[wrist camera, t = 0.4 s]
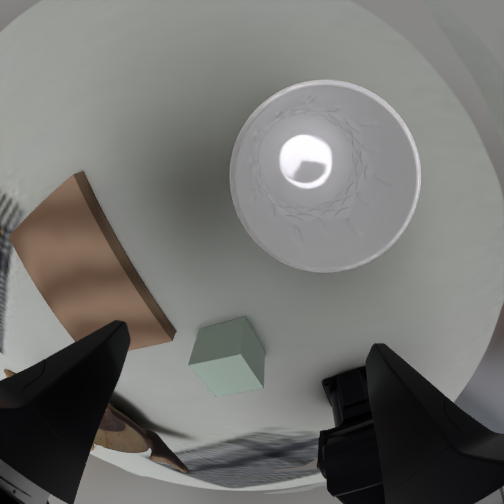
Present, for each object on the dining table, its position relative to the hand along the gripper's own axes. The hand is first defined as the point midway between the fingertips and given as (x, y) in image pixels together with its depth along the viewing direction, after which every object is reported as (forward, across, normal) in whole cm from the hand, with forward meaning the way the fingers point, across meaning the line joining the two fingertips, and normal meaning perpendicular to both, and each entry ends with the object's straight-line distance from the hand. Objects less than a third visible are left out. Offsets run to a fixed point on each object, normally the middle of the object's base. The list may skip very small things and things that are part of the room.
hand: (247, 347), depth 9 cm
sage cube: (+14, +2, +12) cm, 19 cm away
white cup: (+14, -3, -6) cm, 15 cm away
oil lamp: (+14, +24, +37) cm, 46 cm away
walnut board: (+13, +18, +7) cm, 23 cm away
